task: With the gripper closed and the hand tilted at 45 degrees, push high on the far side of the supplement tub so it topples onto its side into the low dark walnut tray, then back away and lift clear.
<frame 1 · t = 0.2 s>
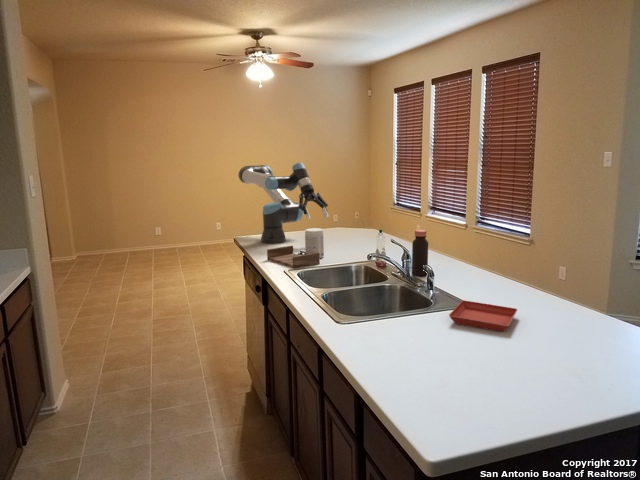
hand: (318, 218, 274), 16 cm above the worktop, tool tilted 35°, fingers open, 13 cm apart
plant saucer: (483, 322, 154), on the worktop
walnut tray: (293, 261, 237), on the worktop
bottle: (419, 275, 209), on the worktop
supplement tub: (314, 257, 247), on the worktop
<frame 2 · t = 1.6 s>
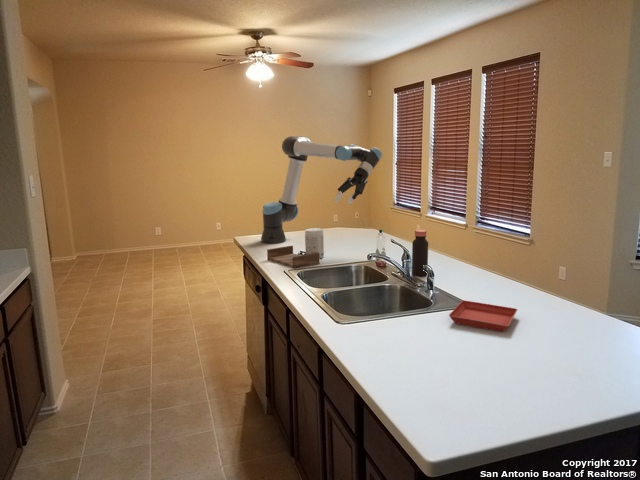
hand: (341, 202, 253), 27 cm above the worktop, tool tilted 45°, fingers open, 10 cm apart
nothing on the worktop moved.
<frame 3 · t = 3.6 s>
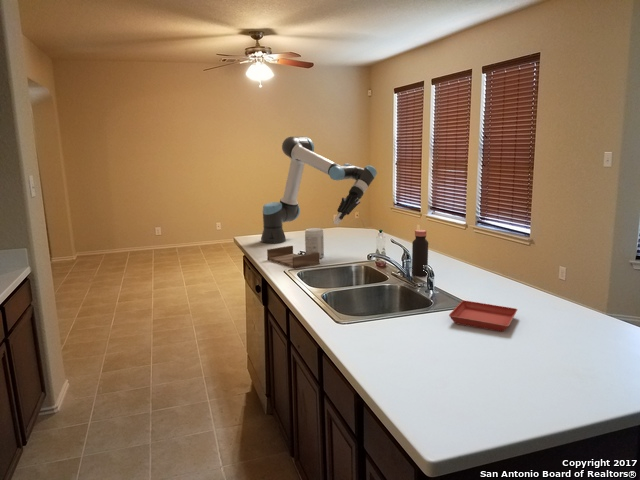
hand: (335, 223, 251), 17 cm above the worktop, tool tilted 45°, fingers closed
nothing on the worktop moved.
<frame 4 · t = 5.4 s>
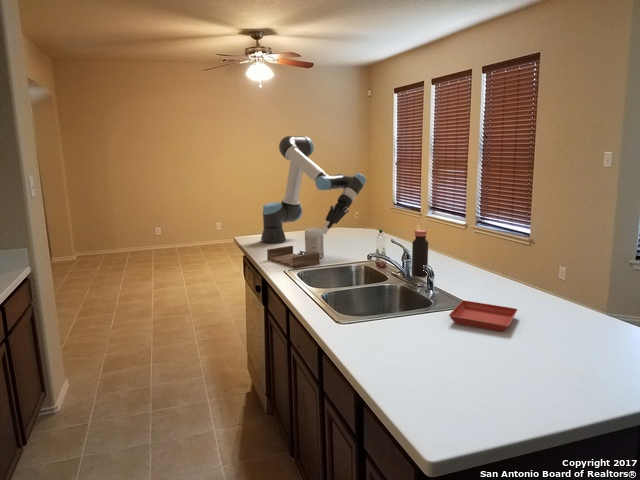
hand: (323, 232, 247), 13 cm above the worktop, tool tilted 45°, fingers closed
supplement tub: (314, 257, 247), on the worktop, touching gripper
everything else where it was.
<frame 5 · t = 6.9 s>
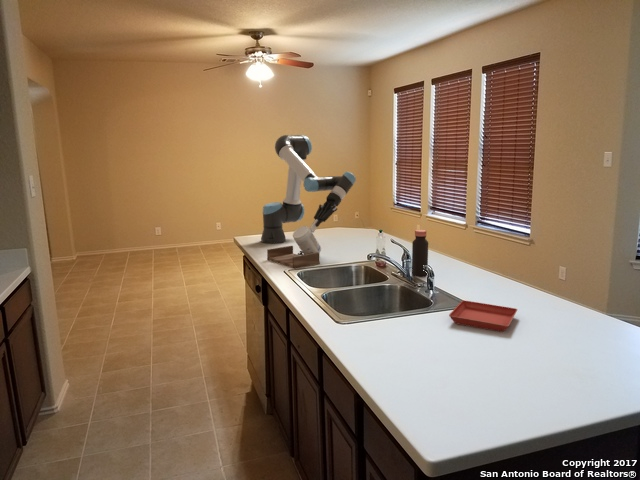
hand: (311, 230, 242), 14 cm above the worktop, tool tilted 45°, fingers closed
supplement tub: (313, 253, 246), point 2 cm above the worktop, touching gripper
everything else where it was.
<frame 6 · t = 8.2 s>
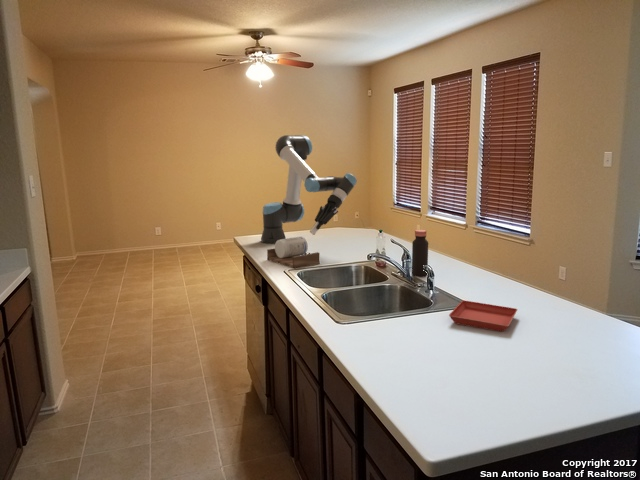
hand: (312, 233, 244), 13 cm above the worktop, tool tilted 45°, fingers closed
supplement tub: (303, 245, 247), point 6 cm above the worktop, touching walnut tray
everything else where it was.
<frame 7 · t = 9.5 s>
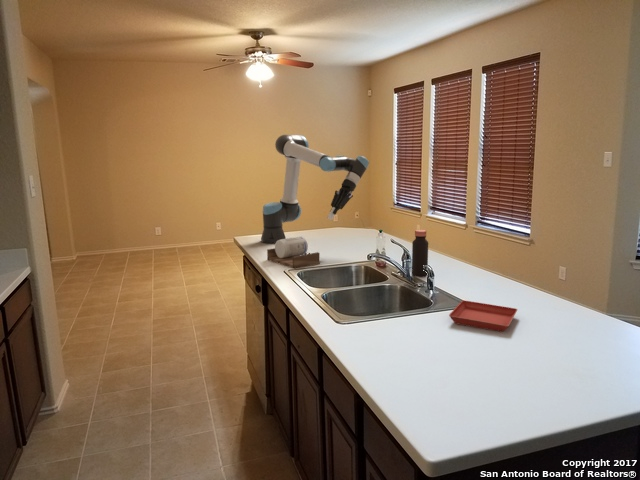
hand: (329, 218, 253), 19 cm above the worktop, tool tilted 35°, fingers closed
nothing on the worktop moved.
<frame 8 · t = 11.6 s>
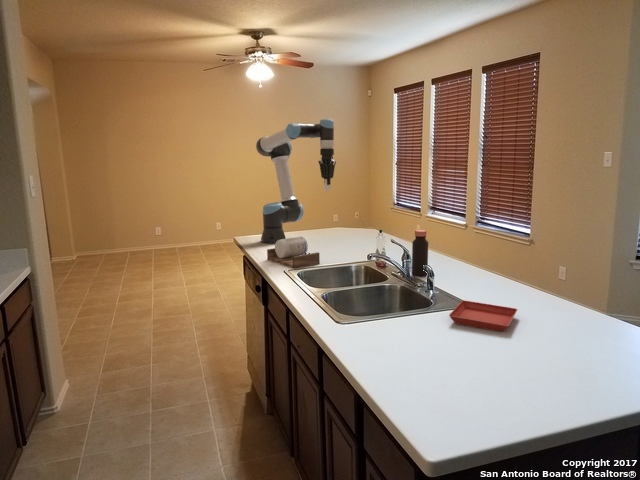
hand: (327, 190, 267), 32 cm above the worktop, tool pointing down, fingers closed
nothing on the worktop moved.
at the end: supplement tub tilted 90°; supplement tub inside the target area (5.7 cm from its centre), point 6.2 cm above the worktop; supplement tub touching walnut tray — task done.
